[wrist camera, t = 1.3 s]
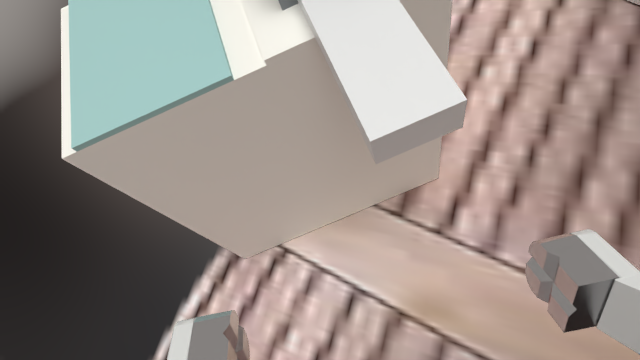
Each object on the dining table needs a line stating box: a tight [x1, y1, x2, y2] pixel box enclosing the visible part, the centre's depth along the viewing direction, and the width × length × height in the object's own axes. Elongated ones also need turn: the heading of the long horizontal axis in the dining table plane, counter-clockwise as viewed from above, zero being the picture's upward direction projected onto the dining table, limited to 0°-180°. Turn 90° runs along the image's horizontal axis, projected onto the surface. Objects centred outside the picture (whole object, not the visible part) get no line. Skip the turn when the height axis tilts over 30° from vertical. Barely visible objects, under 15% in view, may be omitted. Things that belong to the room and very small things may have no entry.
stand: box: [61, 0, 452, 259], centre depth 36 cm, size 14×24×26 cm, turn 109°
